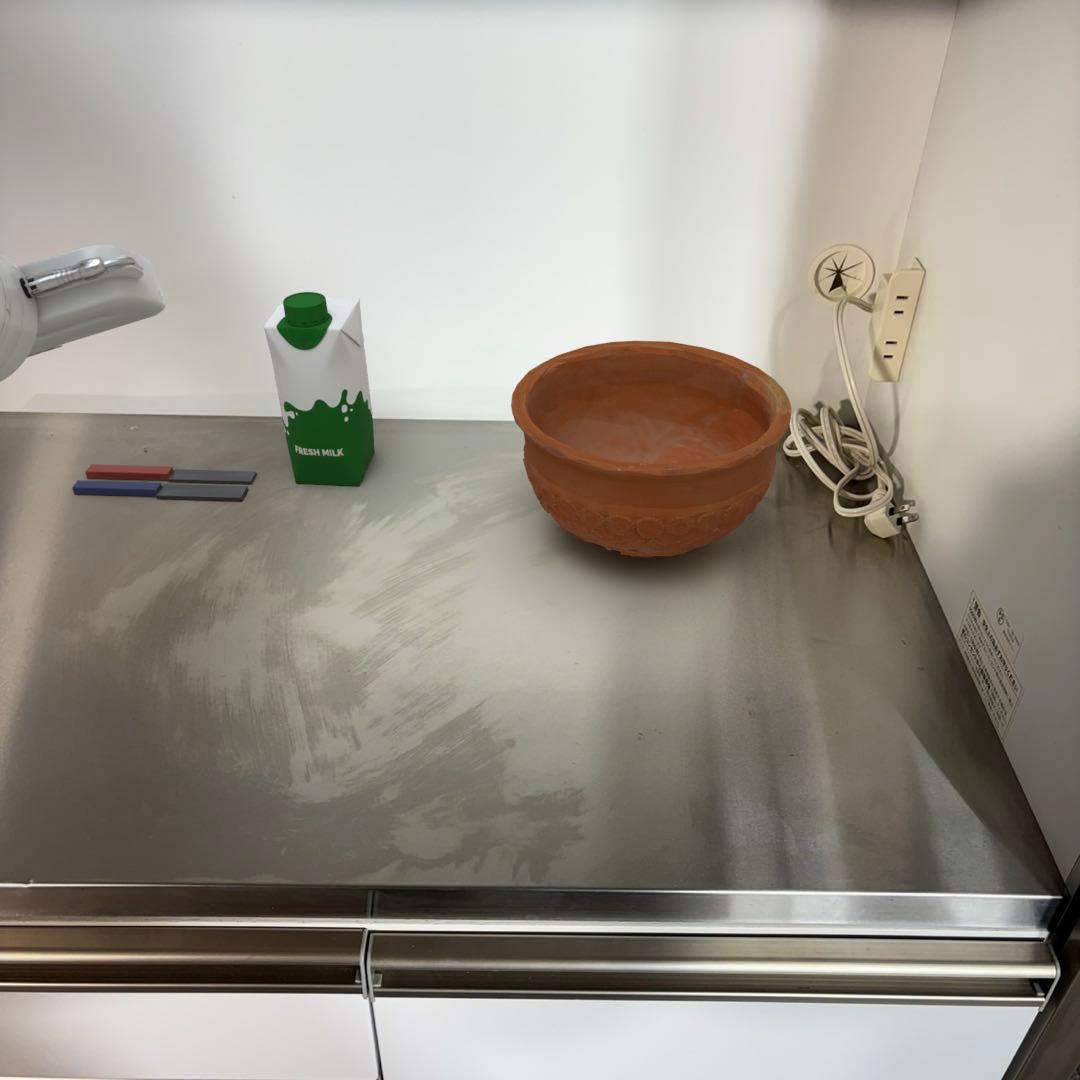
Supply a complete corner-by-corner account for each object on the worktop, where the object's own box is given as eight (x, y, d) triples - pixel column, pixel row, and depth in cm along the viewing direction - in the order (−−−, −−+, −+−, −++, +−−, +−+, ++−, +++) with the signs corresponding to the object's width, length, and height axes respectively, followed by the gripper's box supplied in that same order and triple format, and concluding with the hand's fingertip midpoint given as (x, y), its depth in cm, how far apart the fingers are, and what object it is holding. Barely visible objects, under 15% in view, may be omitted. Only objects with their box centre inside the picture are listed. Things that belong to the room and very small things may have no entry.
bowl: (800, 606, 86) (829, 461, 78) (520, 618, 85) (517, 472, 76) (736, 462, 106) (754, 334, 98) (508, 470, 105) (505, 341, 96)
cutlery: (72, 496, 101) (69, 489, 100) (94, 470, 105) (91, 462, 105) (242, 501, 100) (240, 494, 100) (257, 474, 104) (255, 467, 104)
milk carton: (284, 487, 102) (251, 307, 91) (308, 444, 110) (280, 273, 98) (366, 491, 102) (343, 310, 90) (385, 448, 109) (365, 275, 97)
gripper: (106, 200, 55) (168, 253, 68) (-264, 309, 53) (-124, 341, 66) (147, 308, 55) (200, 339, 69) (-217, 421, 53) (-88, 429, 67)
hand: (39, 341), depth 68 cm, fingers closed
